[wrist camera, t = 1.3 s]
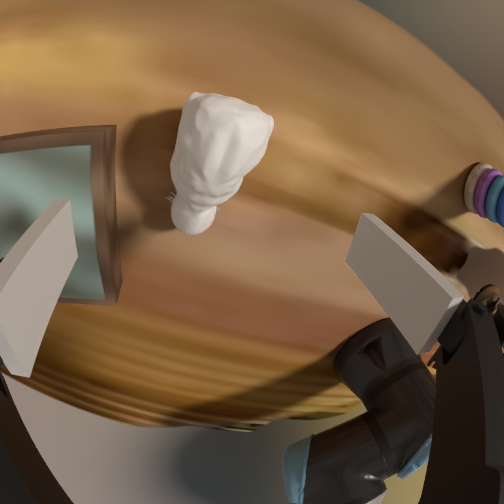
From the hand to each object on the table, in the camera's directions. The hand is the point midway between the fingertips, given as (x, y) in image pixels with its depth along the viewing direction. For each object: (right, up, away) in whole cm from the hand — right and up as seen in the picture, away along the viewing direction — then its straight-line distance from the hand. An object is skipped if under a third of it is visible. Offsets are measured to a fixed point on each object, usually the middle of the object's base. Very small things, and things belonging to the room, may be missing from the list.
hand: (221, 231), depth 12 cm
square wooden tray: (-19, +3, +11) cm, 22 cm away
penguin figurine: (-3, +7, +12) cm, 15 cm away
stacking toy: (+34, +9, +20) cm, 41 cm away
